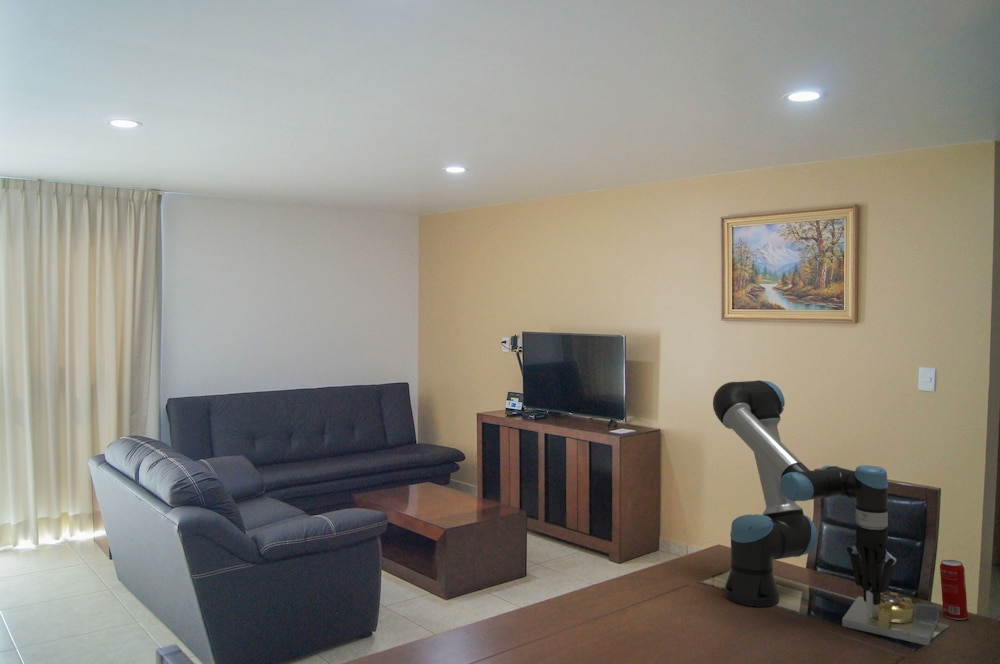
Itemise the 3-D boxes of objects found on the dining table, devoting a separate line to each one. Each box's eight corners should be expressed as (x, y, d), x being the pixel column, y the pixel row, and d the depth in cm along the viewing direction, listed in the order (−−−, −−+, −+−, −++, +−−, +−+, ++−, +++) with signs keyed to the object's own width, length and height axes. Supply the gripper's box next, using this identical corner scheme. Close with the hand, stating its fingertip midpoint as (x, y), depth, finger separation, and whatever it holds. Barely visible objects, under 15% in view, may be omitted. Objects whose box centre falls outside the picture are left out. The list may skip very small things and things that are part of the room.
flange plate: (842, 626, 195) (842, 605, 195) (858, 603, 211) (858, 584, 211) (930, 646, 182) (930, 624, 182) (940, 620, 198) (940, 600, 198)
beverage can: (971, 621, 197) (971, 566, 197) (944, 619, 198) (945, 564, 198) (962, 613, 203) (962, 559, 203) (936, 611, 204) (936, 558, 204)
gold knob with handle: (872, 603, 204) (872, 587, 204) (917, 612, 198) (917, 596, 198) (859, 622, 191) (859, 606, 191) (907, 633, 184) (907, 616, 184)
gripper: (840, 522, 195) (840, 610, 195) (887, 533, 184) (888, 627, 184) (856, 518, 199) (857, 604, 199) (904, 529, 188) (904, 620, 188)
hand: (872, 615), depth 192 cm, fingers closed
